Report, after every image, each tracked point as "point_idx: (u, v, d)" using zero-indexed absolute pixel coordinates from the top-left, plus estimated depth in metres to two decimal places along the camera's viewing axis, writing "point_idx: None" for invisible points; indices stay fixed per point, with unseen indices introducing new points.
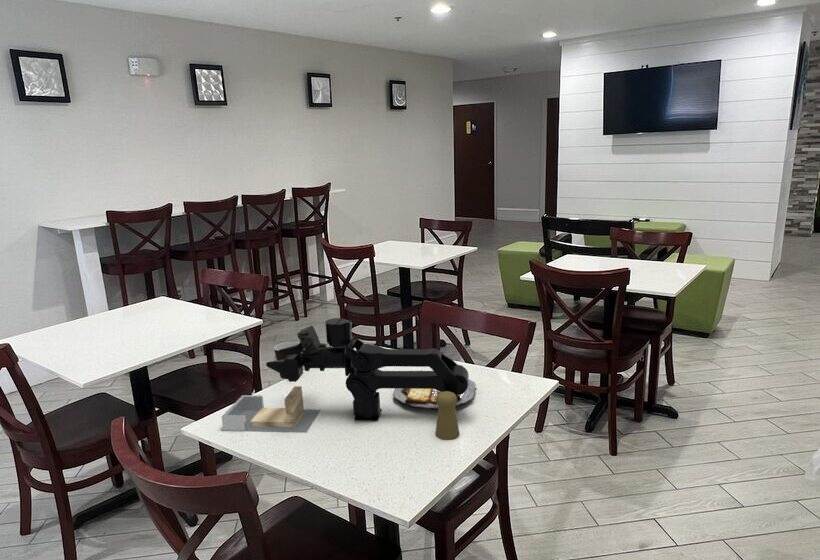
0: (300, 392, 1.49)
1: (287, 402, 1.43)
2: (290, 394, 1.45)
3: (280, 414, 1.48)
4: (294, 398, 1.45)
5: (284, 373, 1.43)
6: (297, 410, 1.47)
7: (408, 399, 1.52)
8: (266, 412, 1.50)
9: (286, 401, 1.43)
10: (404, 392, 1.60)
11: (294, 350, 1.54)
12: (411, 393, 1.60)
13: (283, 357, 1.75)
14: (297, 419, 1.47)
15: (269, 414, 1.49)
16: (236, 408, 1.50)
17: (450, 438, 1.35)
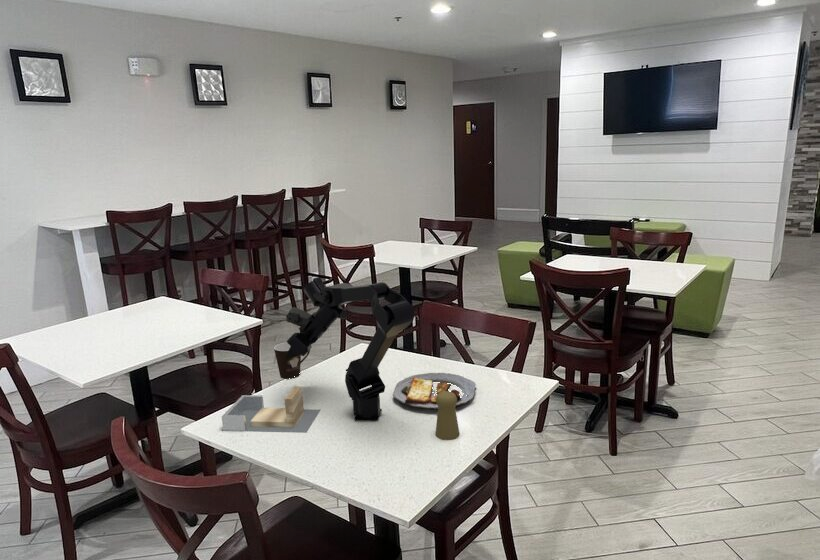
0: (300, 392, 1.49)
1: (287, 402, 1.43)
2: (290, 394, 1.45)
3: (280, 414, 1.48)
4: (294, 398, 1.45)
5: None
6: (297, 410, 1.47)
7: (408, 399, 1.52)
8: (266, 412, 1.50)
9: (286, 401, 1.43)
10: (404, 392, 1.60)
11: None
12: (411, 393, 1.60)
13: (283, 357, 1.75)
14: (297, 419, 1.47)
15: (269, 414, 1.49)
16: (236, 408, 1.50)
17: (450, 438, 1.35)
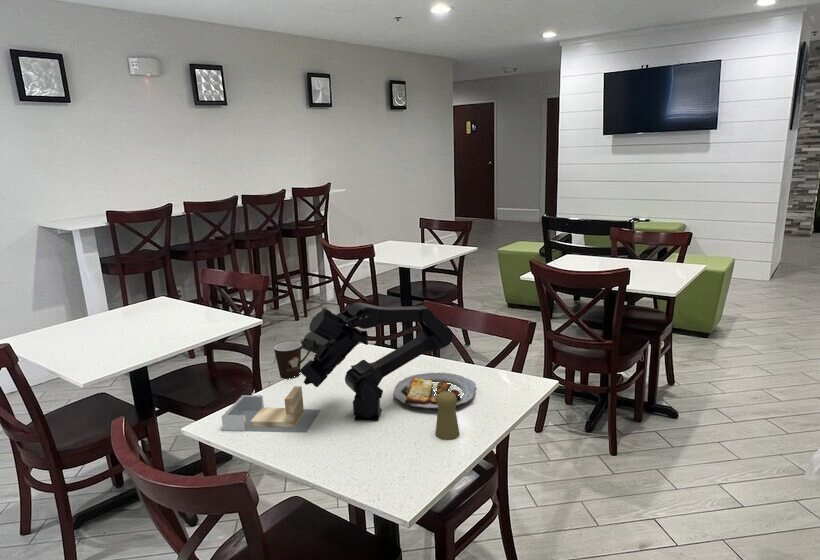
0: (300, 392, 1.49)
1: (287, 402, 1.43)
2: (290, 394, 1.45)
3: (280, 414, 1.48)
4: (294, 398, 1.45)
5: None
6: (297, 410, 1.47)
7: (408, 399, 1.52)
8: (266, 412, 1.50)
9: (286, 401, 1.43)
10: (404, 392, 1.60)
11: None
12: (411, 393, 1.60)
13: (283, 357, 1.75)
14: (297, 419, 1.47)
15: (269, 414, 1.49)
16: (236, 408, 1.50)
17: (450, 438, 1.35)
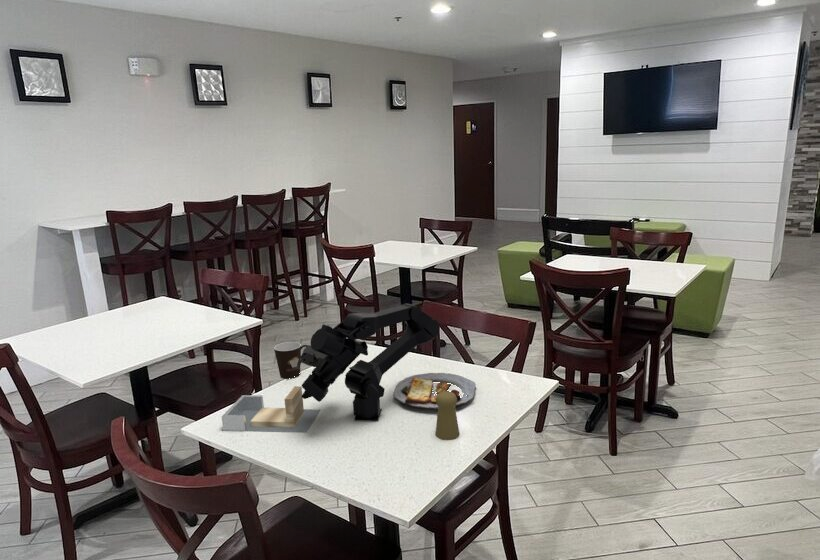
0: (300, 392, 1.49)
1: (287, 402, 1.43)
2: (290, 394, 1.45)
3: (280, 414, 1.48)
4: (294, 398, 1.45)
5: None
6: (297, 410, 1.47)
7: (408, 399, 1.52)
8: (266, 412, 1.50)
9: (286, 401, 1.43)
10: (404, 392, 1.60)
11: None
12: (411, 393, 1.60)
13: (283, 357, 1.75)
14: (297, 419, 1.47)
15: (269, 414, 1.49)
16: (236, 408, 1.50)
17: (450, 438, 1.35)
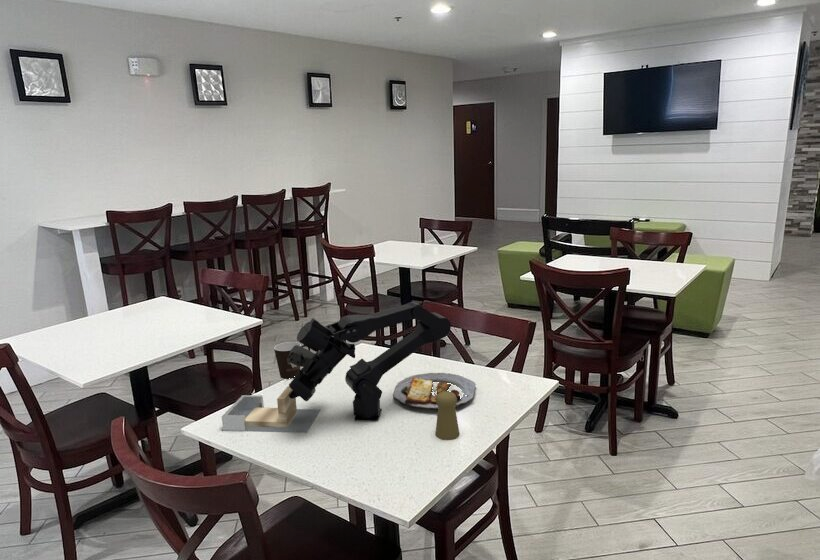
0: None
1: (279, 402, 1.43)
2: (283, 394, 1.46)
3: (273, 414, 1.49)
4: (287, 398, 1.45)
5: None
6: (289, 410, 1.47)
7: (408, 399, 1.52)
8: (259, 412, 1.51)
9: (278, 401, 1.43)
10: (404, 392, 1.60)
11: None
12: (411, 393, 1.60)
13: (283, 357, 1.75)
14: (290, 419, 1.47)
15: (262, 413, 1.50)
16: (236, 408, 1.50)
17: (450, 438, 1.35)
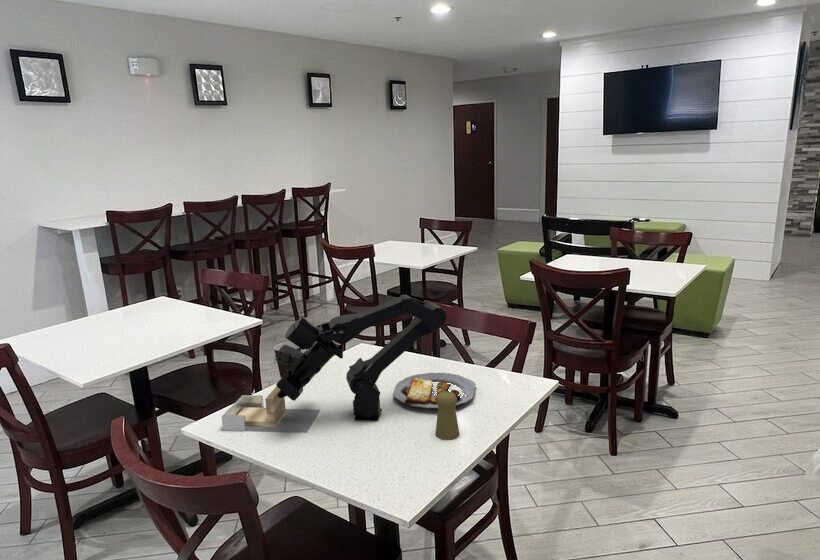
0: None
1: (268, 402, 1.44)
2: (271, 394, 1.46)
3: (262, 414, 1.49)
4: (275, 398, 1.45)
5: None
6: (278, 410, 1.47)
7: (408, 399, 1.52)
8: (248, 412, 1.51)
9: (267, 401, 1.44)
10: (404, 392, 1.60)
11: None
12: (411, 393, 1.60)
13: None
14: (278, 419, 1.47)
15: (251, 413, 1.50)
16: (236, 408, 1.50)
17: (450, 438, 1.35)
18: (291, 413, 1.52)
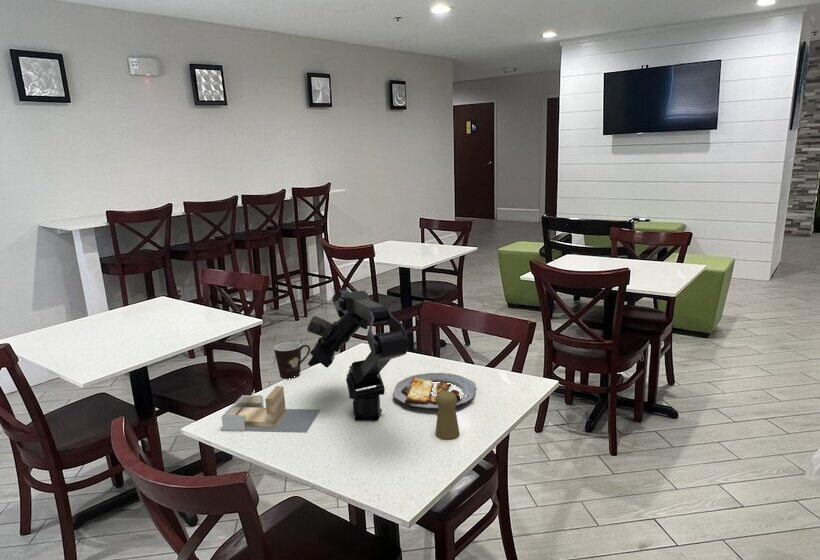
0: (282, 392, 1.50)
1: (268, 402, 1.44)
2: (271, 394, 1.46)
3: (262, 414, 1.49)
4: (275, 398, 1.45)
5: None
6: (278, 410, 1.47)
7: (408, 399, 1.52)
8: (248, 412, 1.51)
9: (267, 401, 1.44)
10: (404, 392, 1.60)
11: None
12: (411, 393, 1.60)
13: (283, 357, 1.75)
14: (278, 419, 1.47)
15: (251, 413, 1.50)
16: (236, 408, 1.50)
17: (450, 438, 1.35)
18: (291, 413, 1.52)
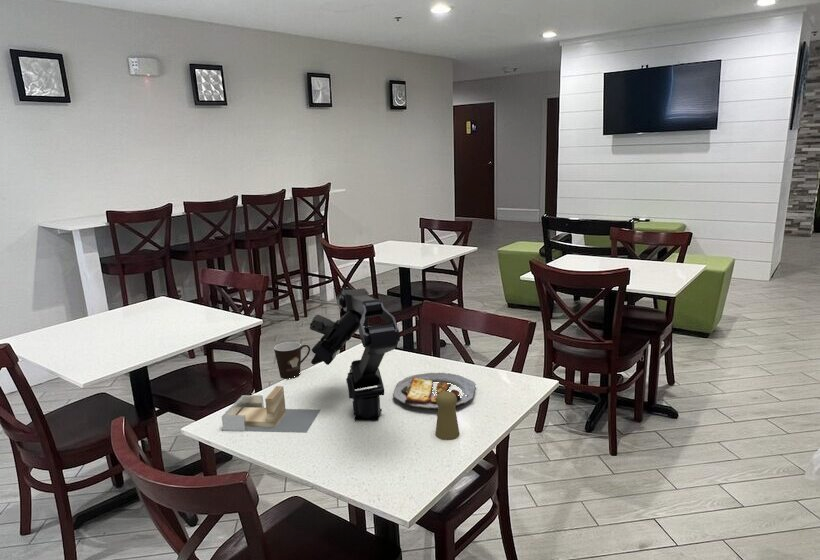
0: (282, 392, 1.50)
1: (268, 402, 1.44)
2: (271, 394, 1.46)
3: (262, 414, 1.49)
4: (275, 398, 1.45)
5: None
6: (278, 410, 1.47)
7: (408, 399, 1.52)
8: (248, 412, 1.51)
9: (267, 401, 1.44)
10: (404, 392, 1.60)
11: None
12: (411, 393, 1.60)
13: (283, 357, 1.75)
14: (278, 419, 1.47)
15: (251, 413, 1.50)
16: (236, 408, 1.50)
17: (450, 438, 1.35)
18: (291, 413, 1.52)
